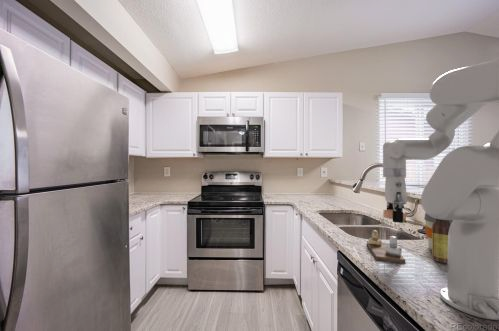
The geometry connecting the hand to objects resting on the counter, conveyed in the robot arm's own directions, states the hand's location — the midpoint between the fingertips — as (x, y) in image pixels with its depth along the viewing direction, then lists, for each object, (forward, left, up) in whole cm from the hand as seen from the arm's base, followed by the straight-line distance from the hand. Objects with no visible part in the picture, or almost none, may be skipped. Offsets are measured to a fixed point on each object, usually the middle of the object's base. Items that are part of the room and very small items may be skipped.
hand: (394, 219), depth 88 cm
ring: (0, 0, +1) cm, 1 cm away
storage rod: (0, 0, -14) cm, 14 cm away
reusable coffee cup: (+18, -23, -15) cm, 34 cm away
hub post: (+11, +4, -14) cm, 18 cm away
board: (+6, +2, -15) cm, 17 cm away
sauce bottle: (+4, -17, -15) cm, 24 cm away
